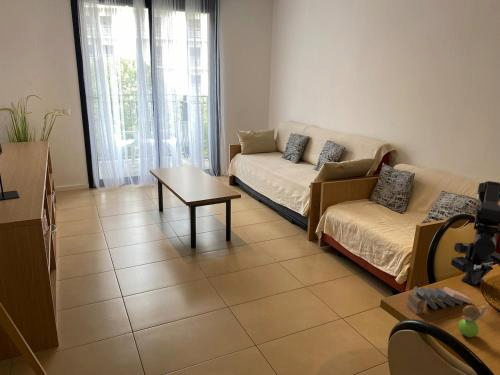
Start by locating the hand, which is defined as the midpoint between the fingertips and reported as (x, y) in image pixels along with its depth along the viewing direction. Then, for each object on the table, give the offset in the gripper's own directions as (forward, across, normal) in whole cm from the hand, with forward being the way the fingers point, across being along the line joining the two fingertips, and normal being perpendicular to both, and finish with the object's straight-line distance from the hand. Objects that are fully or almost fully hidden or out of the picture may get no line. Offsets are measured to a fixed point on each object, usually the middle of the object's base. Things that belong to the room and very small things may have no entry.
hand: (474, 283), depth 133 cm
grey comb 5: (+6, +17, 0) cm, 18 cm away
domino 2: (+6, +14, 0) cm, 15 cm away
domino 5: (+6, +2, 0) cm, 6 cm away
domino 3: (+6, +10, 0) cm, 11 cm away
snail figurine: (+6, +17, +16) cm, 24 cm away
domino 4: (+6, +6, 0) cm, 9 cm away
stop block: (+6, +24, 0) cm, 25 cm away
